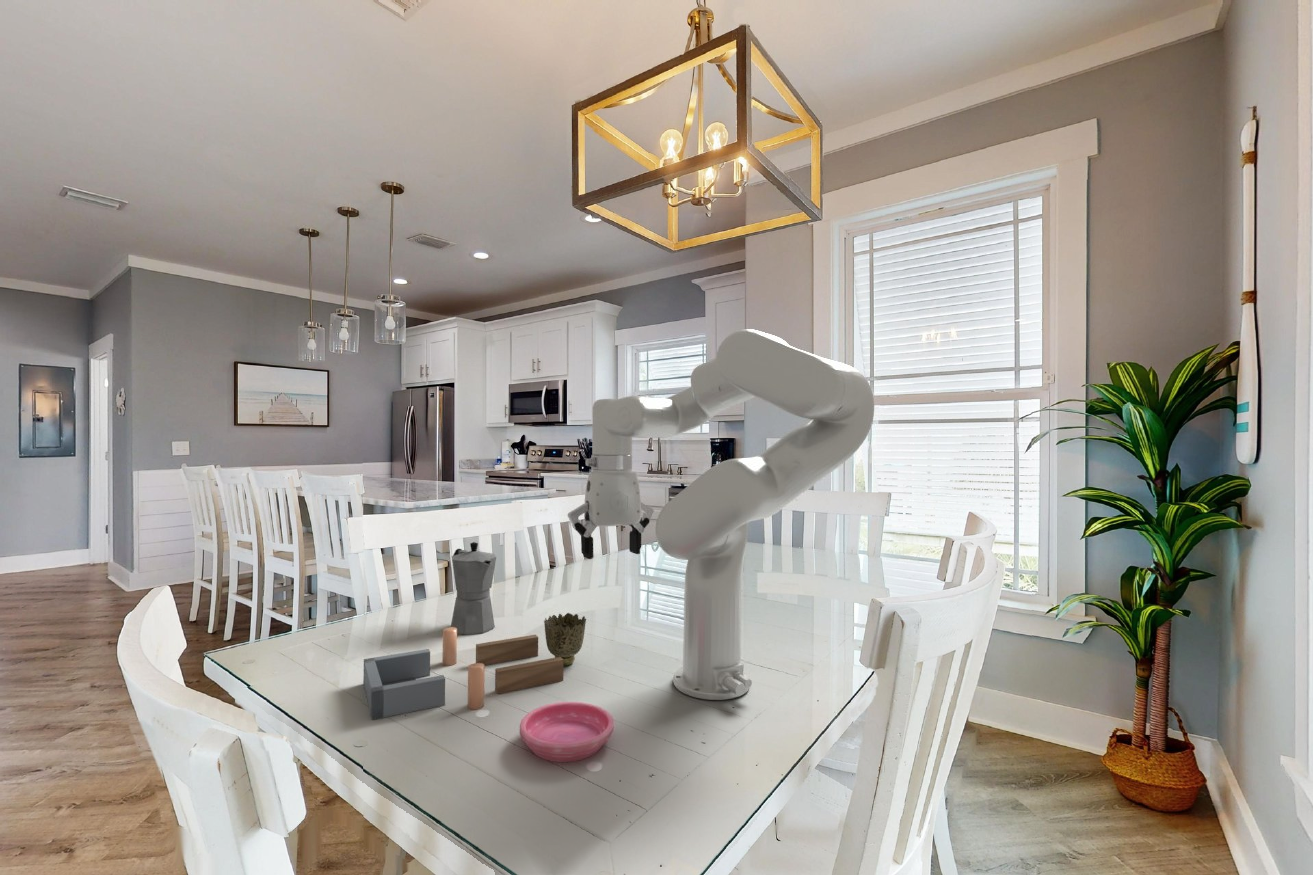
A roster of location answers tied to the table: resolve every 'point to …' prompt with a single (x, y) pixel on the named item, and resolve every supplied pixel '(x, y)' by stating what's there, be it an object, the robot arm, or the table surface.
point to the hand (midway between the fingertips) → (611, 555)
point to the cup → (565, 636)
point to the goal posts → (474, 670)
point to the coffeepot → (473, 591)
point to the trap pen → (401, 684)
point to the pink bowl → (566, 730)
